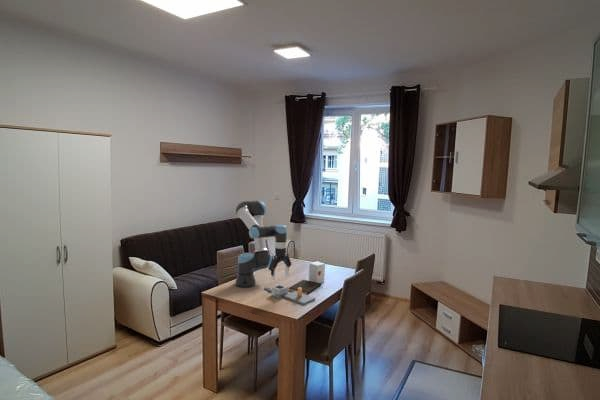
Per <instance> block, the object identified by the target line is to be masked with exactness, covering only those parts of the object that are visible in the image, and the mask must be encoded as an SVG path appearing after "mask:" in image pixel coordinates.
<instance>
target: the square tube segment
mask: <svg viewBox="0 0 600 400" xmlns="http://www.w3.org/2000/svg"><path fill="white" fill-rule="evenodd" d="M288 288H289V287H288V286H285V285H283V284H277V285H273V286H271V290H272V292H271V295H270V296H272V297H275V298H277V299H283V298H284V295H287V294H289V292H288V291H289V289H288Z"/></svg>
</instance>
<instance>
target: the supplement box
mask: <svg viewBox="0 0 600 400" xmlns="http://www.w3.org/2000/svg"><path fill="white" fill-rule="evenodd" d="M325 268H326V264H325V263H324V262H320V261H318V260H317V261H313V262H309V267H308V281H312V282H317V283H321V284H322V283H324V282H325V274H326V272H325Z"/></svg>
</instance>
